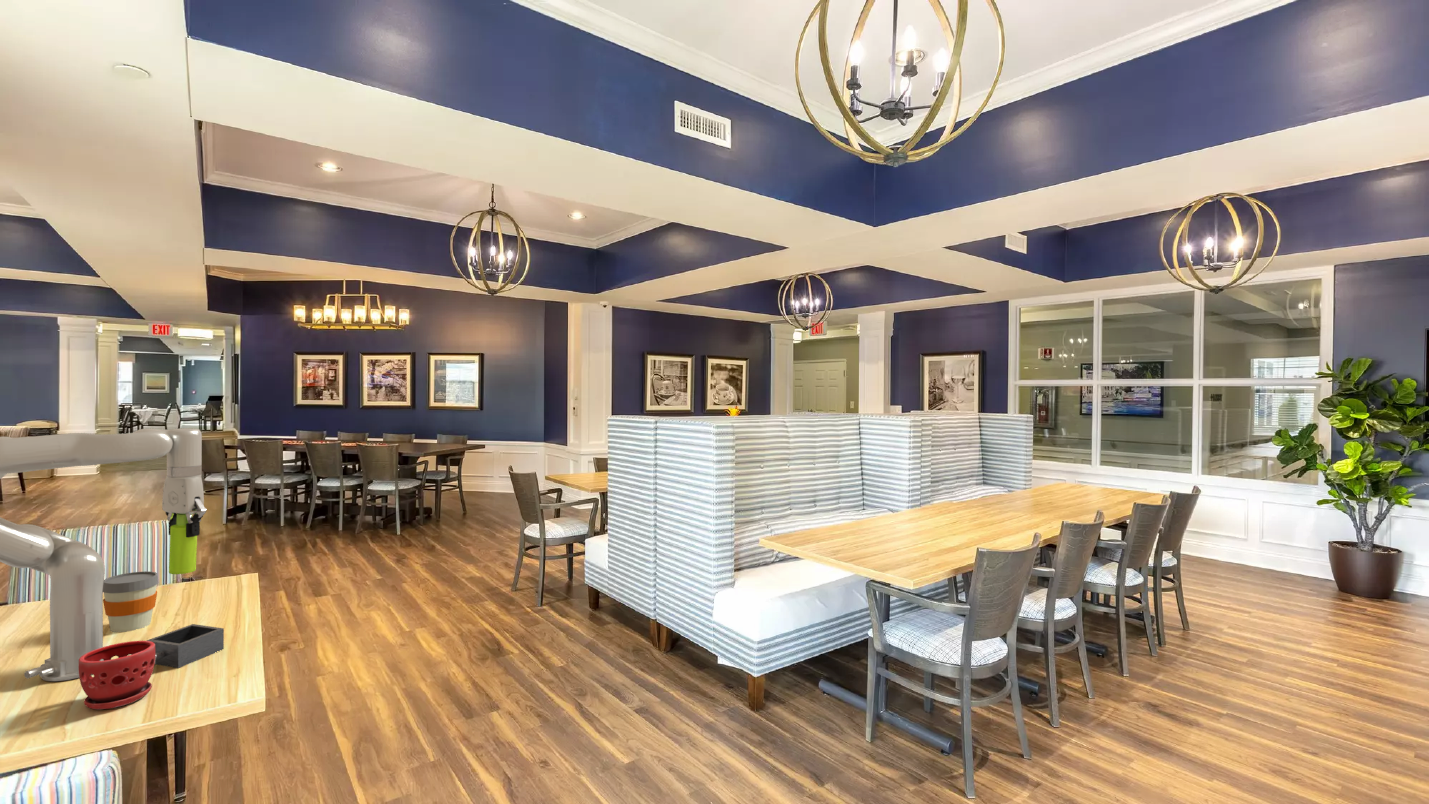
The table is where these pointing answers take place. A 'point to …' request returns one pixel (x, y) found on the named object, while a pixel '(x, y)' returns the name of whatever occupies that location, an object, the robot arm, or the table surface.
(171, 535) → the soap dispenser
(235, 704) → the table surface
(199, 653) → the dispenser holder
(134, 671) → the plant pot
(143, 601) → the reusable coffee cup
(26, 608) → the table surface
